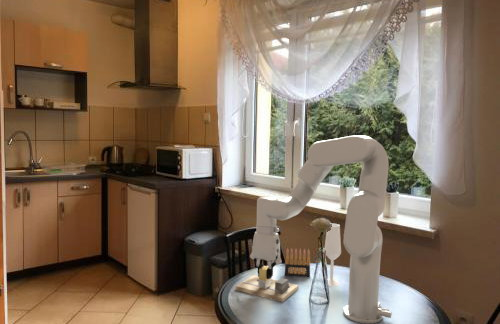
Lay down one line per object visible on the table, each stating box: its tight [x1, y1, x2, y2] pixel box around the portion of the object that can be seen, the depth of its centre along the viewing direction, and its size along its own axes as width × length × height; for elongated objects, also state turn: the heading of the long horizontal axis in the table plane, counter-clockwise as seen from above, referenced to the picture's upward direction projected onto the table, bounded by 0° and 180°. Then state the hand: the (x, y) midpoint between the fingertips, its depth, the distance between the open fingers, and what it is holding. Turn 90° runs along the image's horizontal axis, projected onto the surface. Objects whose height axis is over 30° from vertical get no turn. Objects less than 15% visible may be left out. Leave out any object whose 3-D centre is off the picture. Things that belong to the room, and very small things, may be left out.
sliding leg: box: [258, 265, 274, 289], centre depth 151 cm, size 3×8×7 cm, turn 150°
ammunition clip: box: [284, 247, 311, 278], centre depth 167 cm, size 11×2×12 cm, turn 84°
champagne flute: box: [324, 223, 342, 287], centre depth 159 cm, size 7×7×24 cm
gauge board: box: [235, 274, 299, 303], centre depth 152 cm, size 20×14×6 cm
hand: (265, 276), depth 150 cm, fingers closed on sliding leg, 3 cm apart
